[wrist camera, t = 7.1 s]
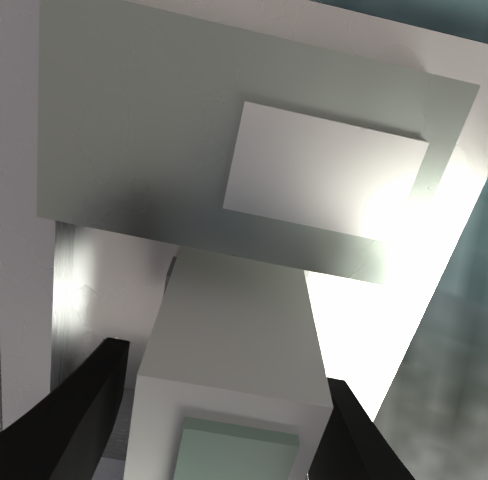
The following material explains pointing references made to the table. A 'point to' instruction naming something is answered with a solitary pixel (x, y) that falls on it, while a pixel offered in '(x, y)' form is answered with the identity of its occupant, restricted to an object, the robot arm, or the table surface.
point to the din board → (225, 174)
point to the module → (229, 375)
